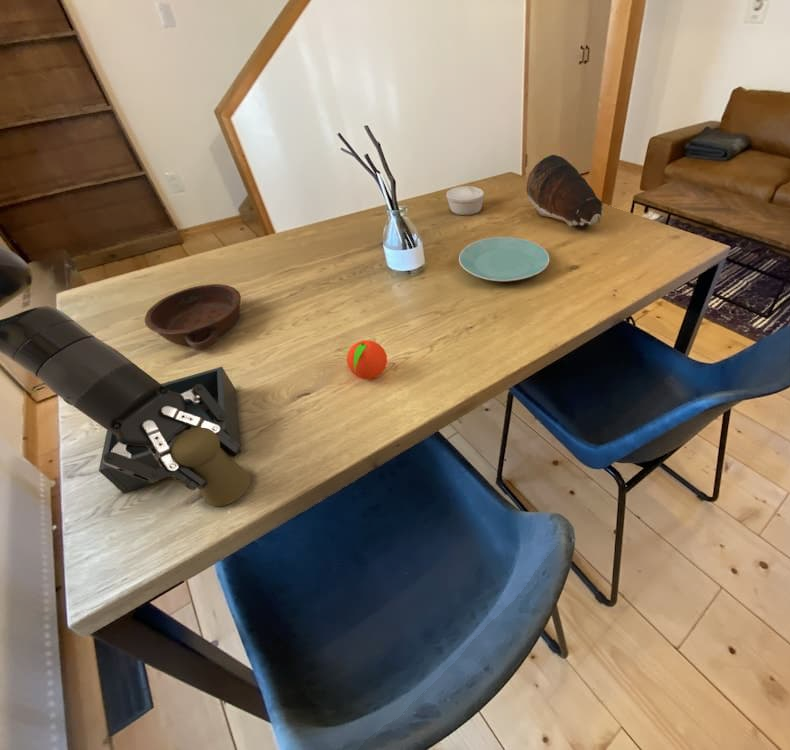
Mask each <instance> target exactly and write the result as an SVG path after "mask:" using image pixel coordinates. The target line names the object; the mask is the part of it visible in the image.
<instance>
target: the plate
mask: <svg viewBox="0 0 790 750" xmlns="http://www.w3.org/2000/svg"><path fill="white" fill-rule="evenodd" d="M458 262H459V263H458V264H459V265H460V267H461V268H462V269H463V270H464V271H465V272H467V273H468V274H470V275H472V276H474V277H476V278H479V279H483V280H484V281H485V280H486V281H489V282H502V283H503V282H505V283H506V282H516V281H521V280H526V279H529V278H532V277H535V276H536V275H539V274H540V273H542V272H543V271H545V270H546V269H547V267H549V264H550V254H549V253H548V251H547V250H546V249H545V248H544V247H542V245H540V244H538V243H536V242H534V241H531V240H528V239H524V238H520V237H519V238H518V237H509V236H507V237H506V236H494V237H488V238H482V239H479V240H477V241H474V242H471V243H470V244H468V245H466V247H464V248H463V249H462V250H461V252H460V253H459V255H458Z"/></svg>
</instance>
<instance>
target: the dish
mask: <svg viewBox="0 0 790 750" xmlns="http://www.w3.org/2000/svg"><path fill="white" fill-rule="evenodd" d="M241 299H242V297H241V293H240V291H239V290H238V289H236V288H235V287H233V286H231V285H227V284H222V283H211V284H203V285H197V286H196V285H195V286H193V287H189V288H185V289H182V290H180V291H176V292H174V293H172V294H170V295H167V296H165V297H163V298H162V299H160V300H158V301H157V302H156V303H155V304H154V305H152V306H151V307H150V308H149V309H148V310H147V312H146V313H145V316H144V324H145V326H146V327H147V329H149V330H150V331H152V332H154V333H157V334H158V335H159V336H161V337H162V338H163V339H165V340H167V341H168V342H170V343H173V344H177V345H187V346H189V347H191V348H192V349H193V350H195V351H205V350H207V349H210V348H211V347H213V346H214V345H215V344H216V342H217V341H218V339H219V337H221V336H223V335H224V334H226V333H228V332H229V331H231V330H232V329H233V328H234V326H236V324H237V323H238V322H239V319H240V315H241Z"/></svg>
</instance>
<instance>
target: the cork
mask: <svg viewBox="0 0 790 750" xmlns="http://www.w3.org/2000/svg"><path fill="white" fill-rule="evenodd" d="M171 453H172V456H173V458H174V459H175V460H176V461H177V462H178V463H179V464H181V465H183V466H187V468H188V469H189V470H191V471H192V472H194V473H195V474H196V475H198V476H199V477H201V478H202V479H203V480H205V481H206V482H207V483H208V484H207V485H206V486H205V487H204V488H203V489H202V490H200V489H198V490H199V491H200V493H201V496H202V497H203V500H204V501H205V503H206V504H208V505H210V506H214V507H221V506H226V505H229V504H231V503H233V502H235V501H237V500H238V499H240V498H241V497H242V496H243V495H244V494H245V493H246V491H247V490H248V488H249V486H250V483H251V476H250V474H249V473H248V472H247V471H246V470H245V469H244V468H243V467H242V466H240V464H239V463H238V462H237V461H236V460H234V458H233V457H232V456H229V455H228V454H227V453H226V452H225V451H224V450H223V449H221V448H220V441H219V438H218V437H217V435H216V433H215V432H213V431H212V430H210V429H208V428H203V427H196V428H192V429H189V430H187V431H185V432H183V433H181V434H180V435H179V436H177V438H176V439H175V440H174V441H173V443H172V446H171Z"/></svg>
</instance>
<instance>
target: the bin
mask: <svg viewBox="0 0 790 750" xmlns="http://www.w3.org/2000/svg"><path fill="white" fill-rule="evenodd" d="M160 384H161V385H163V386H164V387H165V388H166V389H167V390H169V391H172V392H175V393H179V394H182V393H184V392H186V391H188V390H190V389H192V388H193V387H194V386H195V385H196V384H202V385H203V386H204V387H205V388H206V389H207V391H208V392H209V393H210V395H211V396H212V397H213V398H214V400H215V401H216V402H217V403H218V405H219V406H220V407H221V408H222V410H223V411H224V412H225V414H226V415H227V418H226V419H225V420H224V422H223V424H222V430H223V431H224V432H225V433H226V434H228V435H229V436H230V437H231V438H233V439H234V440H235V441H237V442H238V443H239V445H240V446H239V447H238V448H239V449H240V450H241V451H242V447H241V445H242V444H241V434H240V424H239V423H240V422H239V410H238V399H237V389H236V388H235V386H234V384H233V382H232V381H231V379H230V378H229V375H228V374H227V372H226V371H225V369H224V367H223V366H219V367H216V368H211V369H208V370H205V371H202V372H197V373H195V374H191V375H188V376H184V377H180V378H176V379H174V380H170V381H167V382H163V383H160ZM185 404H186V409H187V413H189V414H191V415H194V416H197V417H200V418H202V419H203V420H205V421H208V422H211V423H212V421H211V420H210V419H209V417H208V416H207V415H206V413H205V412H204V411H203V410H202V408H201V407H200V406H199V405H198V404H197V405H194V404H192V403H191V402H189V401H185ZM190 420H191V419H190ZM183 432H185V431H183ZM183 432H182V433H183ZM179 435H180V434H179ZM179 435H177V436H179ZM177 436H175V437H174V438H173V439H172V440H171V442H170V443H169V444H168V446H169V448H170V449H171V446H172V443H173V441H174V440H175V439H176V438H177ZM103 443H104V444H103V447H102V453H101V457H100V462H99V467H98V472H99V473H100V474H102V475H103V477H105V478H106V479H107V480H108V481H109V482H110V483H111V484H112V485H114V486H115V488H117V489H118V490H119V491H120V492H121V493H122V494H125V493H128V492H130V491H134V490H137V489H139V488H143V487H146V486H147V485H151V484H152V483H149V482H147V481H144V480H141V479H138V478H136V477H133V476H130V475H128V474H125V473H122V472H120V471H117V470H114V469H112V468H109V467H106V466H104V464H103V459H104V455H105V454H107V453H109V452H111V450H112V449H113V448H114V447H115V445H116V444H117V441H116V438H115V436H114V435H113V434H112V433H111V432H110V431H108V430H107V429H106V433H105V439H104V442H103ZM126 450H127V451H128V452H130V453H131V459H132V460H135V461H137V462H140V463H142V464H145V465H148V466H150V467H153V468H155V469H157V468H160V467H161V466H160V464H159V463H158V461H156V459H155V458H154V456H153V455H152V453H151V451H150V450H149V448H135V447H126ZM227 454H228V453H227ZM228 455H229V454H228ZM229 456H230V455H229ZM230 457H231V456H230ZM178 464H179V463H178ZM179 465H180V466H183V465H181V464H179ZM185 467H187V466H185ZM168 478H169V477H164V478H162V479H160V480H158V481H157V482H160V481H162V480H165V479H168Z"/></svg>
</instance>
